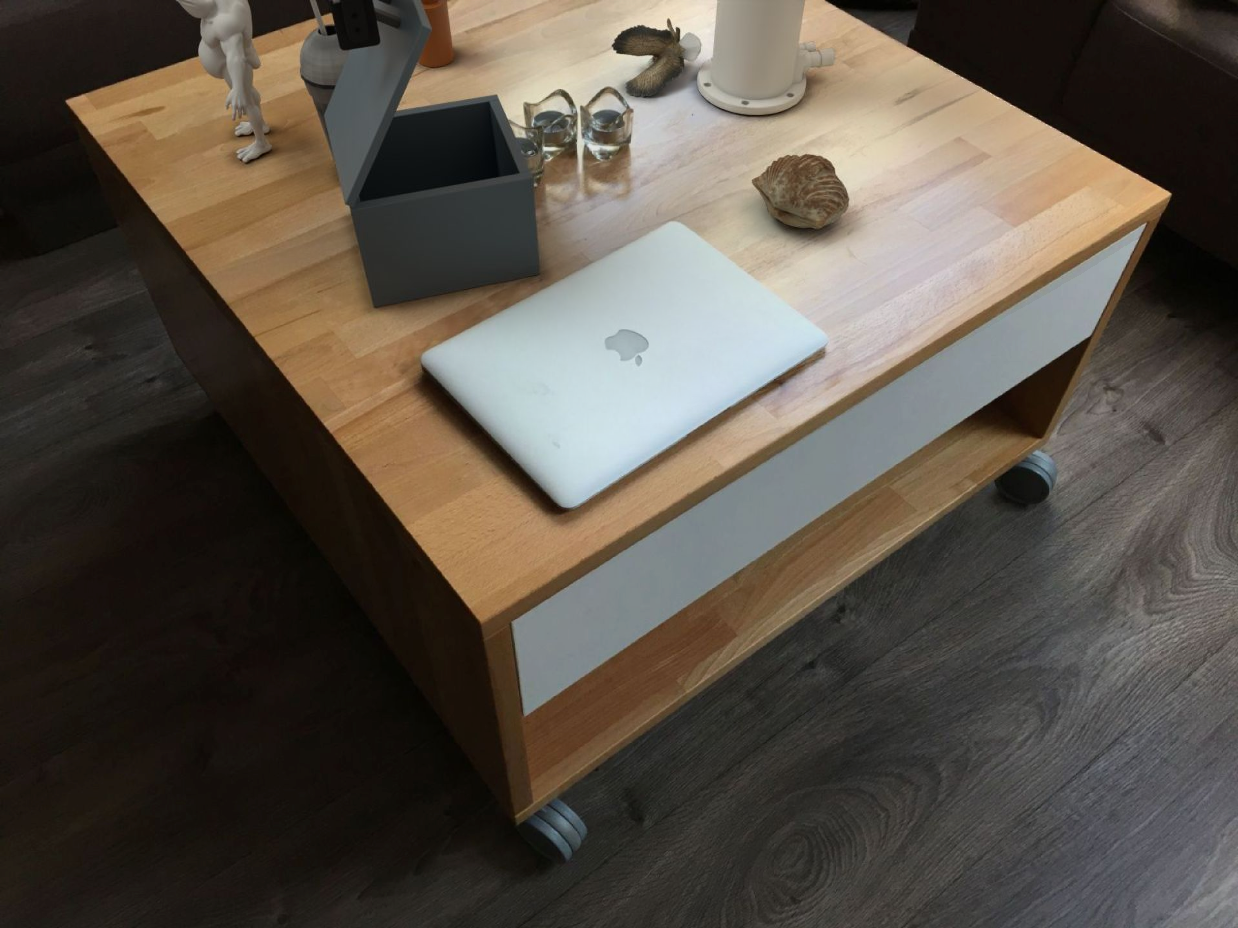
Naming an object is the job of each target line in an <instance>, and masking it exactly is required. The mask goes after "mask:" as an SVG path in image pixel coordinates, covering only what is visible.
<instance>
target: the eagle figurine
mask: <svg viewBox="0 0 1238 928" xmlns="http://www.w3.org/2000/svg"><path fill="white" fill-rule="evenodd" d="M672 24H673V23H672V21H671V19H670V18H669V17H668V18H667V19H666V27H667V28H668V29H667V28H665V29H662V30H661V29H657V28H656V27H654V28H653V27H652V28H651V27H649V26H646V25H644V24H641V25H640V24H637V25H633V26H631V27H629V28H626V29H625V30H621V31H620V33H619V34H617V36H616V37H615V38H614V40H613V41H614V42H613V43H612V44H611V45H610V47H612V51H614V52H615V54H617V55H626V56H635V57H645V56H646V57H647V56H649V57H650V56H651V58H650V59H648V61H647V62H646V63H645V68H644V70H643V71H641V72H640V73H639V74H637V75H636V76H634V77H633V78H631V79H629V80H627V81H626V82H625V93H627V94H628V95H629V96H634V97H640V96H641V97H643V98H644V97H645V96H646V97H650V96H653V95H655V94H658V93H659V92H661V91H662V89H663V88H664V87H666V86H667V84H669V83H670V82H672V80H675V79H677V78H678V77H679V76H680V74H681V72H682V69H685V66H686V64H685V61H687V62H689V63H693V62H695V61H696V60H697V59H698V58H699V56H700V53H701V51H702V42H701V39H700V38H699V37H698V36H697V35H696V34H695V33H692V32H686V33H685V34H684V35H683V36H682V38H681V28H680V27H678V26H675V29H674V27H673V25H672Z"/></svg>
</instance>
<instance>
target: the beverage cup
mask: <svg viewBox="0 0 1238 928" xmlns="http://www.w3.org/2000/svg"><path fill="white" fill-rule="evenodd" d="M309 2H310V5H311V7H312V10H313V14H314V17H315V19H316V22H317V26H318V27H316V28H315V29H313V30H312V31H311V32H310V33H309V34H307V36H306V37H305V38H304V41H303V43H302V45H301V48H300V50H299V51H300V52H299V65H300V67H299V75H300V78H301V80H302V81H303V82H304V86H305V87H306V90H307V92H308V94H309V96H310V97H311V99H312V102H313V104H314V108H315V110H316V113H317V116H318V119H319V121H320V124H321V127H322V130H323V133H324V137H325V139H326V142H327V144H328V148H329V150H330V153H331V156H332V159H333V162H334V163H335V160H334V155H333V151H332V147H331V143H330V138H329V134H328V130H327V126H326V121H325V117H324V114H325V112H326V109H327V107H328V104H329V102H330V99H331V97H332V94H333V92H334V89H335V87H336V84H337V82H338V79H339V77H340V74H341V72H342V69H343V66H344V64H345V61H346V59H347V56H348V54H349V51H350V50H342V49H341V48H340V46H339V43H338V38H337V34H336V29H335V25H334V23H329V24H325V23H324V21H323V18H322V15H321V12H320V9H319V6H318V3H317V1H316V0H309Z"/></svg>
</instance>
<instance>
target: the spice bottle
mask: <svg viewBox="0 0 1238 928" xmlns="http://www.w3.org/2000/svg"><path fill="white" fill-rule="evenodd" d="M421 3H422V5H423V8H424V10H425V13H426V15H427V18H428V20H429V23H430V26H431V28H432V31H431V33H430V35H429V38H428V40H427V42H426V44H425V47H424V49H423V51H422V54H421V56H420V58H419V60H418V64H420V65H422V66H425V67H428V68H439V67H440V68H441V67H444V66H447V65H449V64H450V63H452V61H453V60H454V57H455V55H454V54H455V53H454V47H453V39H452V31H451V30H452V29H451V23H450V14H449V7H448V0H421Z"/></svg>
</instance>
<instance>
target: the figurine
mask: <svg viewBox="0 0 1238 928" xmlns="http://www.w3.org/2000/svg"><path fill="white" fill-rule="evenodd" d="M175 1H176V2H177V3H178V4H180V6H181V7H182V8H183V9H184V10H185V11H186V12H187V13H188V14H189V15H191V16H192V17H194V18H196V19H201V20H200V26H199V27H200V36H201V39H200V41H199V45H198V58H199V62H200V64H201V65H202V68H203V69H204V71H205V72H206V73H207V74H208V75H209V76H211V77H213V78H215V79H218V80H224V82H225V83H226V85H227V86H228V88H229V89H230V92H229V93H228V95H227V96H226V100H225V103H224V106H225V110H227V111H228V110H229V109H230V105H231V109H232V110H231V112H232V117H231V120H232V121H236V120H237V119H239V120H241V119H242V118H243V116H246V118H247V119H248V121H241V122H239V125H237V126H235V131H234V135H235V136H237V137H239V136H241V135H244V136H248V135H249V136H250V135H251V134H252V133H253V134H254V138H255V140H254V141H253V142H251V144H249V145H248V146H245V147H242V148H239V149H238V150H236V151H235V153H236V155H237V159H238V160H242V162H243V163H248V162H249V161H250V160H255V159H257V158H259V157H260V156H261V155H262V154H265V153H267V152H270V150H272V144H271V143H270V142H268V140H267V138H266V136H265V134H267V133H269V132H270V126H269V124H267V123H266V121H265V119H264V117H263V112H262V104H261V102H262V97H261V93H260V92H259V90H257V88H256V87H255V86H254V85H253V84H254V70H258V69H260V68H261V66H262V63H261V59H260V57H259V54H258V52H257V50H256V48H255V46H254V45H255V44H254V42H253V20H252V11H251V7H250V4H249V1H248V0H175ZM236 117H237V119H236Z"/></svg>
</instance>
